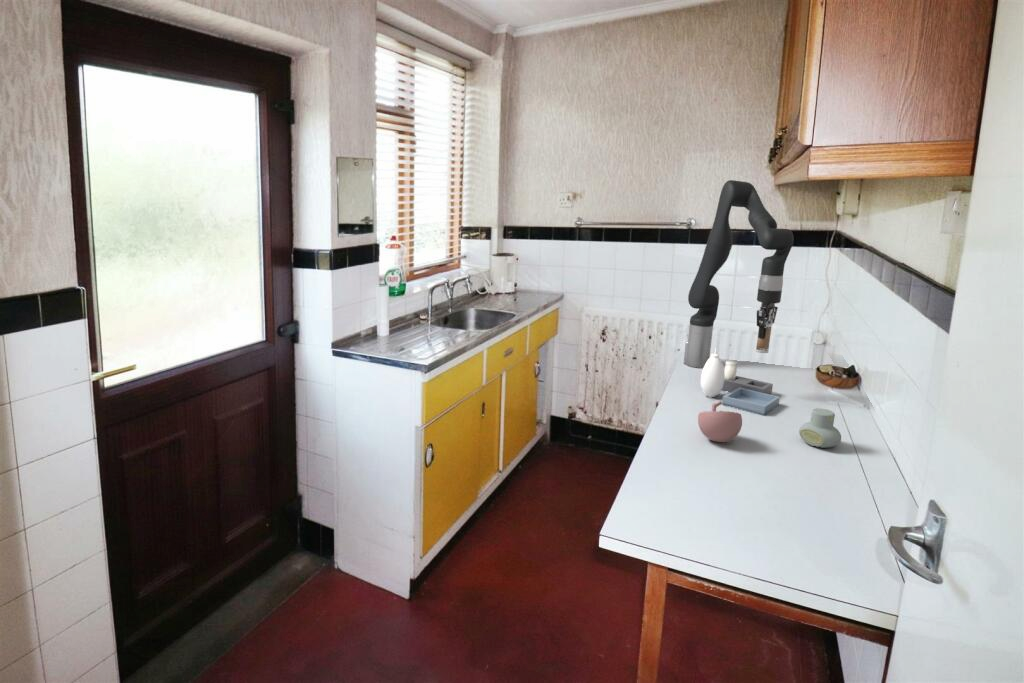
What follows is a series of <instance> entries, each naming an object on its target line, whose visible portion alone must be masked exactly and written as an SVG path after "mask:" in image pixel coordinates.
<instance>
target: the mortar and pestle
mask: <svg viewBox="0 0 1024 683" xmlns="http://www.w3.org/2000/svg"><path fill="white" fill-rule="evenodd" d="M721 405H722V400H719V401H718V402H715V403H714V402H713V403H712V404H711V410H706V411H702V412H701V411H700V412H699V413H698V415H697V424H698V427H699V430H700V432H701V434H702V435H703V436H704V437H706V438H707V439H709V440H711V441H712V442H716V443H726V442H729V441H732V440H733V439H735V438H736V437H737V436H738V435H739V434H740V432H741V430H742V426H743V416H742V414H741V413H739V412H735V411H728V410H726V411H725V410H718V411H717V408H718V407H719V406H721Z"/></svg>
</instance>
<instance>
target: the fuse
mask: <svg viewBox="0 0 1024 683" xmlns="http://www.w3.org/2000/svg"><path fill="white" fill-rule="evenodd" d="M737 368H738V361H736V360H726V361H725V364H724V375H725V378H724V379H728V380H732V381H735V378H736V376H737V371H738V370H737Z"/></svg>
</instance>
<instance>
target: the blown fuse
mask: <svg viewBox="0 0 1024 683" xmlns="http://www.w3.org/2000/svg"><path fill="white" fill-rule="evenodd" d="M762 323H763V322H762ZM772 326H773V323H772V324H771V323H767V327H766V335H765V338H764V339H762V338H758V337H757V339H756V340H757V341H756V346H755V348H756V349H755V352H756V353H760V354H768V353H769V348H770V340H771V334H772ZM758 333H759V330H758V332H757V334H758Z"/></svg>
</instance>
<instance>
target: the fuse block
mask: <svg viewBox="0 0 1024 683" xmlns="http://www.w3.org/2000/svg"><path fill="white" fill-rule="evenodd" d="M773 386H774V383H772V382H771V383H770V382H767V381H766V382H765V381H761V380H757V379H753V378H748V377H743V376H740V375H739V376H738V375H736V378H735V381H732V380H728V379H724V385H723V388H722V390H724V391H723V392H726V391H728V392H727V393H730V392H732V391H734V390H736V389H737V388H739V387H740V388H744V389H748V390H753V391H757V392H761V393H765V394H769V395H773V394H772V393H773ZM722 390H721V391H722Z"/></svg>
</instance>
